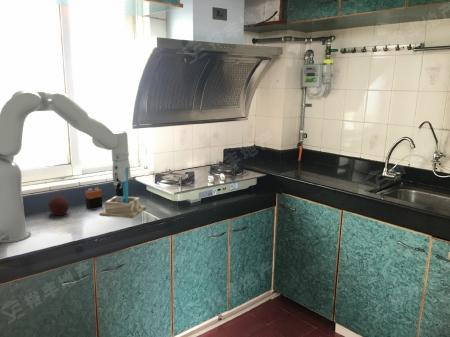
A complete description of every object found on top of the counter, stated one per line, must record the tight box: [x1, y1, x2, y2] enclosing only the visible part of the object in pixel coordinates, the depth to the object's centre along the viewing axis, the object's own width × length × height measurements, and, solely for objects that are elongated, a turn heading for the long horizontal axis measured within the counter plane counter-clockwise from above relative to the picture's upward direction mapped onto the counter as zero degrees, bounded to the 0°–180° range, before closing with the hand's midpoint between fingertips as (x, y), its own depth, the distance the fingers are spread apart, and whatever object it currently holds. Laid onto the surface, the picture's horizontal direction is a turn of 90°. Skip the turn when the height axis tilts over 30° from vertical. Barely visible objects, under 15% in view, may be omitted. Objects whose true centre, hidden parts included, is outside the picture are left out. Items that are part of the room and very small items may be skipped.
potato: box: [47, 195, 69, 216], centre depth 181 cm, size 9×12×9 cm
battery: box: [84, 187, 103, 211], centre depth 192 cm, size 4×7×10 cm, turn 136°
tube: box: [117, 167, 129, 203], centre depth 184 cm, size 7×5×19 cm, turn 96°
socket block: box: [98, 195, 146, 219], centre depth 186 cm, size 15×17×6 cm
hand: (122, 194), depth 185 cm, fingers closed on tube, 4 cm apart
